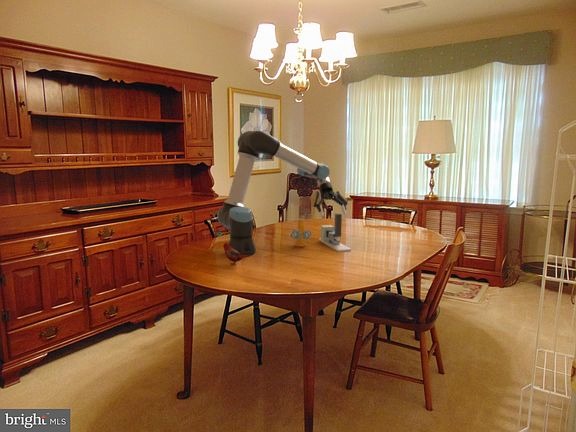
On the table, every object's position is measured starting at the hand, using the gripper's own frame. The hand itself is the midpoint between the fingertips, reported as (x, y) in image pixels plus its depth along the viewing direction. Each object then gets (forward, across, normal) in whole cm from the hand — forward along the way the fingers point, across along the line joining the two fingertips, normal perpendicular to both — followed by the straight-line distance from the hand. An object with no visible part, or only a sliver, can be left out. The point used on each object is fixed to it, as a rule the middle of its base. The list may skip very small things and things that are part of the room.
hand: (334, 215), depth 236 cm
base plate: (+13, 0, -10) cm, 17 cm away
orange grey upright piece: (+10, +19, -13) cm, 25 cm away
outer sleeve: (+12, +1, -9) cm, 15 cm away
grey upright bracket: (+9, +1, -9) cm, 13 cm away
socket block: (+6, +1, -16) cm, 17 cm away
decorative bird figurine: (+31, +60, +7) cm, 68 cm away
